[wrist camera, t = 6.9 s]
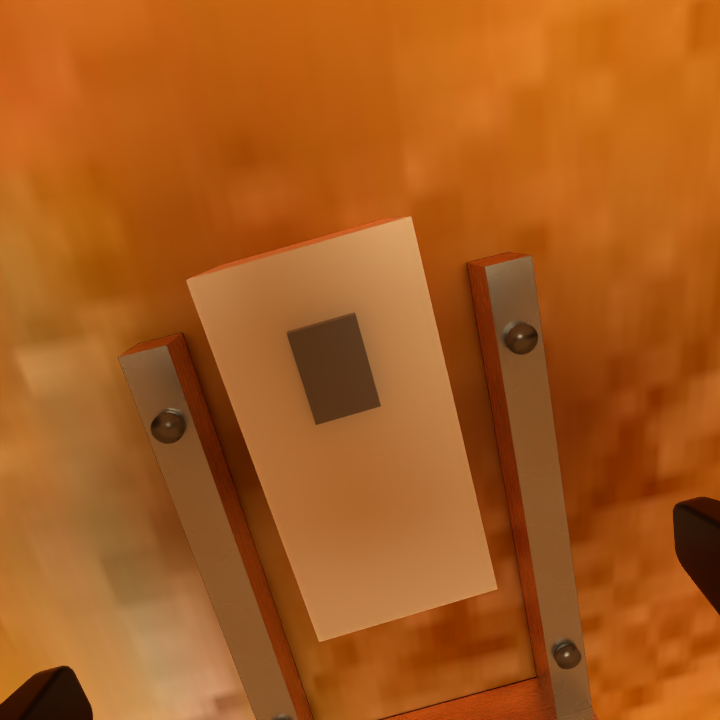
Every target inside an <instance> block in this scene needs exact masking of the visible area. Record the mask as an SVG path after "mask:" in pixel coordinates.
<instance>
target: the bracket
mask: <svg viewBox="0 0 720 720" xmlns="http://www.w3.org/2000/svg"><path fill="white" fill-rule="evenodd" d="M467 266H468V272H469V278H470V284H471V290H472V296H473V302H474V308H475V314H476V320H477V325H478V331H479V337H480V343H481V349H482V355H483V361H484V367H485V373H486V379H487V384H488V390H489V396H490V402H491V408H492V414H493V420H494V426H495V432H496V438H497V443H498V449H499V455H500V461H501V467H502V473H503V479H504V485H505V491H506V497H507V502H508V508H509V514H510V520H511V526H512V532H513V538H514V544H515V550H516V556H517V561H518V567H519V573H520V579H521V585H522V591H523V597H524V603H525V609H526V615H527V620H528V626H529V632H530V638H531V644H532V650H533V656H534V662H535V668H536V674H537V678H534V679H531V680H527V681H523V682H519V683H516V684H512V685H508V686H505V687H501V688H497V689H494V690H490V691H486V692H483V693H479V694H475V695H472V696H468V697H464V698H461V699H457V700H453V701H450V702H446V703H442V704H439V705H435V706H431V707H428V708H424V709H420V710H417V711H413V712H409V713H406V714H402V715H398V716H395V717H391V718H387V719H384V720H599V719H598V717H597V715H596V714H595V712H594V710H593V709H592V704H591V696H590V689H589V681H588V674H587V666H586V659H585V651H584V644H583V636H582V629H581V621H580V614H579V606H578V598H577V591H576V583H575V576H574V568H573V561H572V553H571V546H570V538H569V531H568V523H567V516H566V508H565V501H564V493H563V486H562V478H561V471H560V463H559V456H558V448H557V441H556V433H555V426H554V418H553V411H552V403H551V396H550V388H549V381H548V373H547V366H546V358H545V350H544V343H543V335H542V328H541V320H540V313H539V305H538V298H537V290H536V283H535V275H534V268H533V260H532V255H526V254H518V253H511V252H508V253H504V254H500V255H496V256H491V257H487V258H483V259H479V260H475V261H471V262H467ZM118 360H119V362H120V365H121V367H122V370H123V373H124V375H125V378H126V381H127V383H128V386H129V388H130V391H131V394H132V396H133V399H134V401H135V404H136V407H137V409H138V412H139V415H140V417H141V420H142V422H143V425H144V428H145V430H146V433H147V435H148V438H149V441H150V443H151V446H152V449H153V451H154V454H155V456H156V459H157V462H158V464H159V467H160V469H161V472H162V475H163V477H164V480H165V483H166V485H167V488H168V490H169V493H170V496H171V498H172V501H173V503H174V506H175V509H176V511H177V514H178V516H179V519H180V522H181V524H182V527H183V530H184V532H185V535H186V537H187V540H188V543H189V545H190V548H191V550H192V553H193V556H194V558H195V561H196V564H197V566H198V569H199V571H200V574H201V577H202V579H203V582H204V584H205V587H206V590H207V592H208V595H209V598H210V600H211V603H212V605H213V608H214V611H215V613H216V616H217V618H218V621H219V624H220V626H221V629H222V632H223V634H224V637H225V639H226V642H227V645H228V647H229V650H230V652H231V655H232V658H233V660H234V663H235V665H236V668H237V671H238V673H239V676H240V679H241V681H242V684H243V686H244V689H245V692H246V694H247V697H248V699H249V702H250V705H251V707H252V710H253V713H254V715H255V718H256V720H314V719H313V716H312V713H311V710H310V707H309V705H308V702H307V699H306V696H305V693H304V690H303V687H302V684H301V681H300V678H299V675H298V672H297V669H296V666H295V663H294V660H293V657H292V655H291V652H290V649H289V646H288V643H287V640H286V637H285V634H284V631H283V628H282V625H281V622H280V619H279V616H278V613H277V610H276V607H275V605H274V602H273V599H272V596H271V593H270V590H269V587H268V584H267V581H266V578H265V575H264V572H263V569H262V566H261V563H260V560H259V557H258V555H257V552H256V549H255V546H254V543H253V540H252V537H251V534H250V531H249V528H248V525H247V522H246V519H245V516H244V513H243V510H242V508H241V505H240V502H239V499H238V496H237V493H236V490H235V487H234V484H233V481H232V478H231V475H230V472H229V469H228V466H227V463H226V460H225V458H224V455H223V452H222V449H221V446H220V443H219V440H218V437H217V434H216V431H215V428H214V425H213V422H212V419H211V416H210V413H209V410H208V408H207V405H206V402H205V399H204V396H203V393H202V390H201V387H200V384H199V381H198V378H197V375H196V372H195V369H194V366H193V363H192V360H191V358H190V355H189V352H188V349H187V346H186V343H185V340H184V337H183V334H182V333H178V334H174V335H170V336H166V337H162V338H158V339H154V340H150V341H146V342H142V343H138V344H137V345H135V346H134V347H132V348H131V349H129V350H128V351H126V352H125V353H123V354H122V355H120V356H119V357H118Z"/></svg>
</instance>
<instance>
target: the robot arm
mask: <svg viewBox="0 0 720 720" xmlns="http://www.w3.org/2000/svg"><path fill="white" fill-rule="evenodd" d="M673 523H674V539H675V550H676V554H677V557H678V560H679V562H680V563H681V565H682V567H683V568H684V570H685V571H686V572H687V573H688V575H689V576H690V577H691V579H692V580H693V581H694V583H695V584H696V585H697V586H698V588H699V589H700V590H701V592H702V593H703V594H704V595H705V597H706V598H707V599H708V601H709V602H710V603H711V605H712V606H713V607H714V608H715V610H716V611H717V612H718V614H719V615H720V501H718V500H715V499H711V498H707V497H697V498H693V499H690V500H686V501H682V502H679V503H677V504H676V505H675V506H674V509H673ZM0 720H93V713H92V708H91V705H90V703H89V701H88V699H87V697H86V695H85V693H84V691H83V689H82V687H81V685H80V683H79V681H78V679H77V677H76V675H75V673H74V671H73V670H72V669H71V668H70V667H68V666H59V667H55V668H52V669H48V670H44V671H41V672H38V673H36V674H35V675H33V676H32V677H31V678H30V679H28V680H27V681H26V682H25V683H24V684H23V685H22V686H21V687H19V688H18V689H17V690H16V691H15V692H14V693H13V694H12V695H10V696H9V697H8V698H7V699H6V700H5V701H4V702H3V703H1V704H0Z"/></svg>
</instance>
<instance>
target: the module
mask: <svg viewBox="0 0 720 720" xmlns="http://www.w3.org/2000/svg"><path fill="white" fill-rule="evenodd" d="M186 282H187V285H188V288H189V290H190V293H191V296H192V298H193V301H194V304H195V307H196V309H197V312H198V315H199V317H200V320H201V323H202V326H203V328H204V331H205V334H206V336H207V339H208V342H209V345H210V347H211V350H212V353H213V355H214V358H215V361H216V364H217V366H218V369H219V372H220V374H221V377H222V380H223V383H224V385H225V388H226V391H227V393H228V396H229V399H230V402H231V404H232V407H233V410H234V412H235V415H236V418H237V421H238V423H239V426H240V429H241V432H242V434H243V437H244V440H245V442H246V445H247V448H248V451H249V453H250V456H251V459H252V461H253V464H254V467H255V470H256V472H257V475H258V478H259V480H260V483H261V486H262V489H263V491H264V494H265V497H266V499H267V502H268V505H269V508H270V510H271V513H272V516H273V518H274V521H275V524H276V527H277V529H278V532H279V535H280V537H281V540H282V543H283V546H284V548H285V551H286V554H287V556H288V559H289V562H290V565H291V567H292V570H293V573H294V575H295V578H296V581H297V584H298V586H299V589H300V592H301V595H302V597H303V600H304V603H305V605H306V608H307V611H308V614H309V616H310V619H311V622H312V624H313V627H314V630H315V633H316V635H317V638H318V641H319V642H322V641H325V640H328V639H332V638H335V637H339V636H342V635H345V634H349V633H352V632H355V631H359V630H362V629H366V628H369V627H372V626H376V625H379V624H382V623H386V622H389V621H392V620H396V619H399V618H403V617H406V616H409V615H413V614H416V613H419V612H423V611H426V610H429V609H433V608H436V607H440V606H443V605H446V604H450V603H453V602H456V601H460V600H463V599H467V598H470V597H473V596H477V595H480V594H483V593H487V592H490V591H493V590H497V589H498V588H497V584H496V579H495V575H494V571H493V567H492V562H491V558H490V554H489V549H488V545H487V541H486V536H485V532H484V528H483V523H482V519H481V515H480V510H479V506H478V502H477V498H476V493H475V489H474V485H473V480H472V476H471V472H470V467H469V463H468V459H467V454H466V450H465V446H464V441H463V437H462V433H461V429H460V424H459V420H458V416H457V411H456V407H455V403H454V398H453V394H452V390H451V385H450V381H449V377H448V372H447V368H446V364H445V359H444V355H443V351H442V347H441V342H440V338H439V334H438V329H437V325H436V321H435V316H434V312H433V308H432V303H431V299H430V295H429V290H428V286H427V282H426V278H425V273H424V269H423V265H422V260H421V256H420V252H419V247H418V243H417V239H416V234H415V230H414V226H413V221H412V217H411V216H408V217H398V218H388V219H382V220H378V221H375V222H371V223H368V224H364V225H361V226H357V227H354V228H350V229H346V230H343V231H339V232H336V233H332V234H329V235H325V236H322V237H318V238H315V239H311V240H308V241H304V242H300V243H297V244H293V245H290V246H286V247H283V248H279V249H276V250H272V251H269V252H265V253H262V254H258V255H254V256H251V257H247V258H244V259H240V260H237V261H233V262H230V263H226V264H223V265H220V266H217V267H215V268H213V269H210V270H208V271H206V272H203V273H201V274H198V275H196V276H194V277H191V278H189V279H187V280H186Z"/></svg>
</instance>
